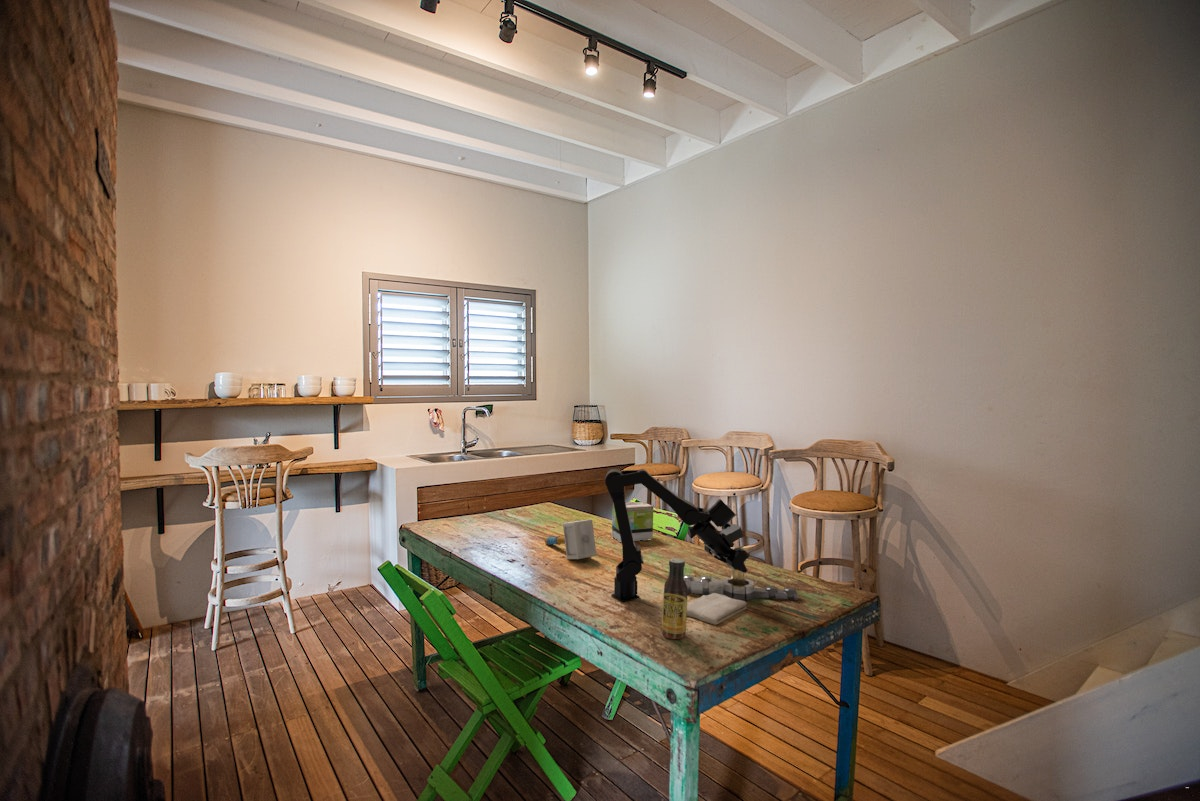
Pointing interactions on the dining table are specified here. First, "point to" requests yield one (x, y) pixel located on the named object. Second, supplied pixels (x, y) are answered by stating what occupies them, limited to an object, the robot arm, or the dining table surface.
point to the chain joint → (736, 589)
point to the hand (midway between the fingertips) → (742, 569)
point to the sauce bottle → (675, 601)
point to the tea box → (636, 521)
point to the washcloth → (714, 608)
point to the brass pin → (738, 575)
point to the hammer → (576, 539)
